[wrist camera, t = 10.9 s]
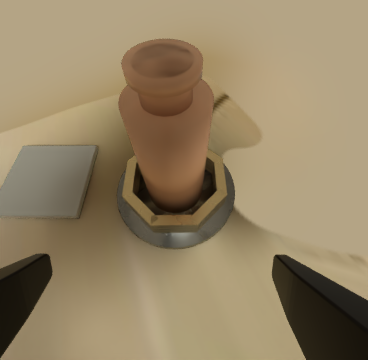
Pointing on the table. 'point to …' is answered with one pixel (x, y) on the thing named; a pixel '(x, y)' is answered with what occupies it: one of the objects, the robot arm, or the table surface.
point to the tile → (47, 182)
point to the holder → (177, 222)
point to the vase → (168, 119)
